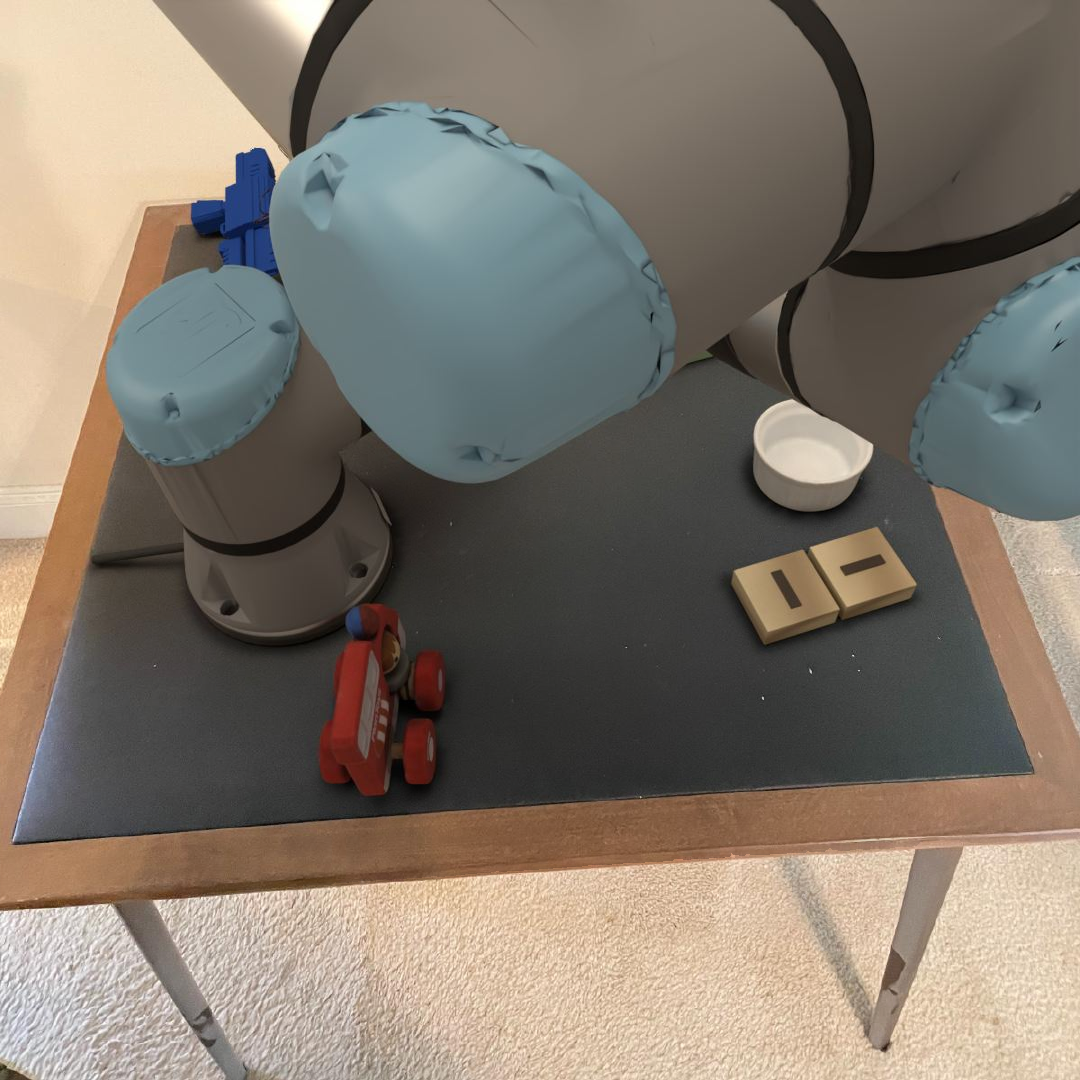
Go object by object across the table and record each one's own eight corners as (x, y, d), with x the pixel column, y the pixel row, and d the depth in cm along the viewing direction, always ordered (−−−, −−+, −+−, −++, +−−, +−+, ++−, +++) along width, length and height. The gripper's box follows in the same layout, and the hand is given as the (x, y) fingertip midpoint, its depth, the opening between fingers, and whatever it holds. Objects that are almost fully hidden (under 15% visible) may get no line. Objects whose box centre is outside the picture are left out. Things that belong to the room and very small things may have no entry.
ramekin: (748, 429, 79) (755, 391, 75) (859, 439, 78) (871, 401, 74) (744, 513, 74) (751, 476, 70) (862, 525, 72) (875, 488, 69)
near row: (764, 645, 67) (768, 631, 65) (730, 584, 70) (733, 568, 68) (910, 598, 68) (918, 583, 67) (871, 540, 72) (877, 524, 70)
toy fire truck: (450, 646, 68) (429, 562, 60) (431, 816, 61) (404, 747, 52) (354, 645, 68) (320, 561, 60) (323, 814, 61) (280, 745, 53)
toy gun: (206, 189, 104) (293, 164, 104) (203, 322, 92) (302, 294, 92) (187, 155, 101) (277, 129, 100) (182, 289, 89) (284, 260, 88)
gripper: (534, 471, 38) (426, 341, 56) (1053, 304, 43) (799, 233, 61) (494, 289, 35) (392, 212, 53) (1066, 126, 39) (791, 107, 57)
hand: (609, 223), depth 57 cm, fingers open, 13 cm apart
